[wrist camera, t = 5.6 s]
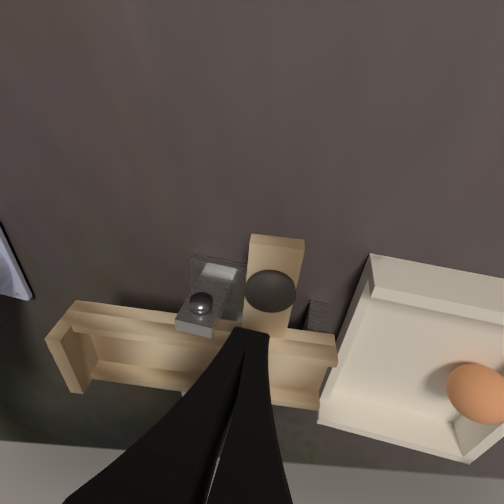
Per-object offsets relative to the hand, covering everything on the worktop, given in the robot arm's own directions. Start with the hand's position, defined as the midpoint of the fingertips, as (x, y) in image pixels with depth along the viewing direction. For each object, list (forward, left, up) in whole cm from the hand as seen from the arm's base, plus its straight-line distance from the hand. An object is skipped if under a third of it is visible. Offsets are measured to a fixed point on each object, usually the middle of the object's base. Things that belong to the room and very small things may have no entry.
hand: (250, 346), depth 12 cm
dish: (+10, -6, -7) cm, 14 cm away
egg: (+13, -6, -5) cm, 15 cm away
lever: (-3, -3, -4) cm, 6 cm away
